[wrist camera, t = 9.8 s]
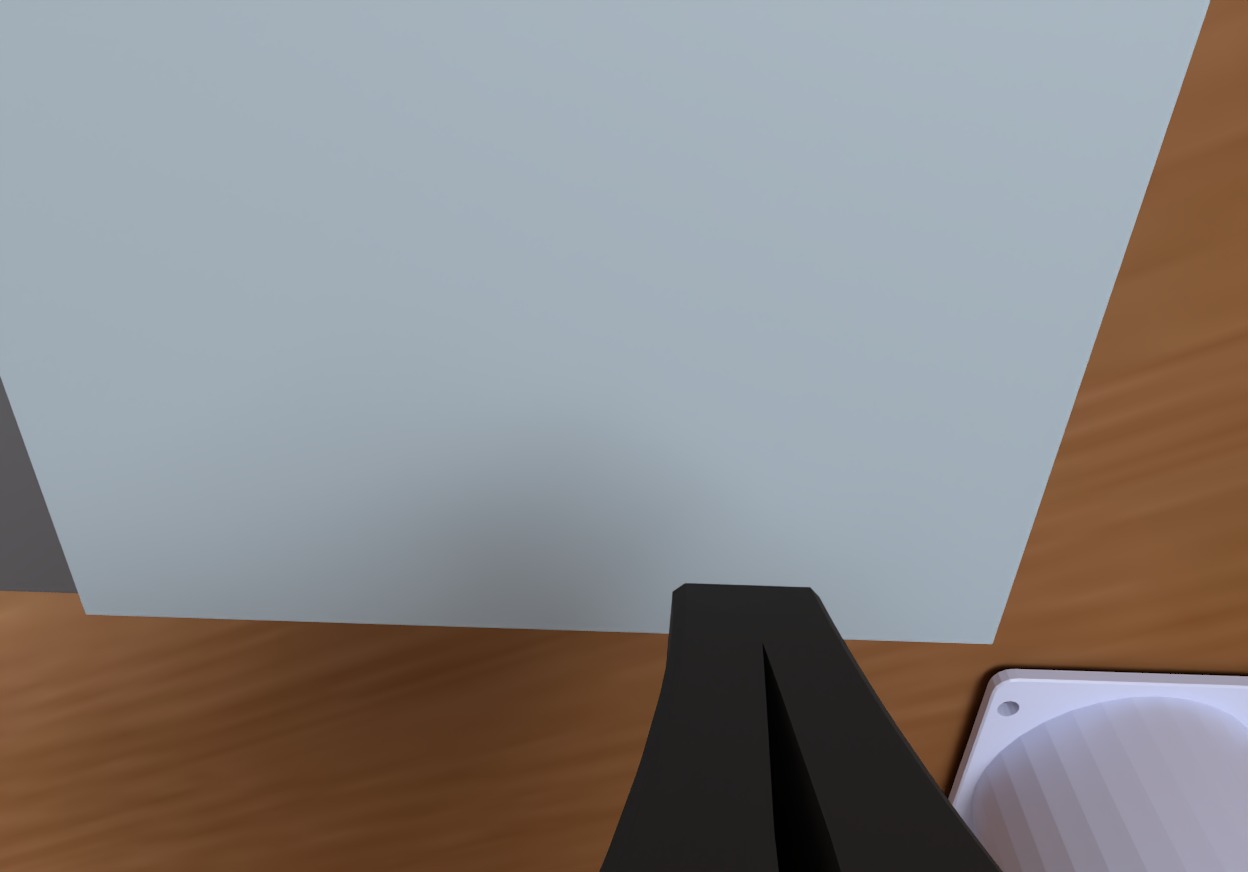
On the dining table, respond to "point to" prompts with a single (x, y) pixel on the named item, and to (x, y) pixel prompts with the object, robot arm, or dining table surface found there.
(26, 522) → the mat
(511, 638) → the dining table surface
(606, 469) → the deck
